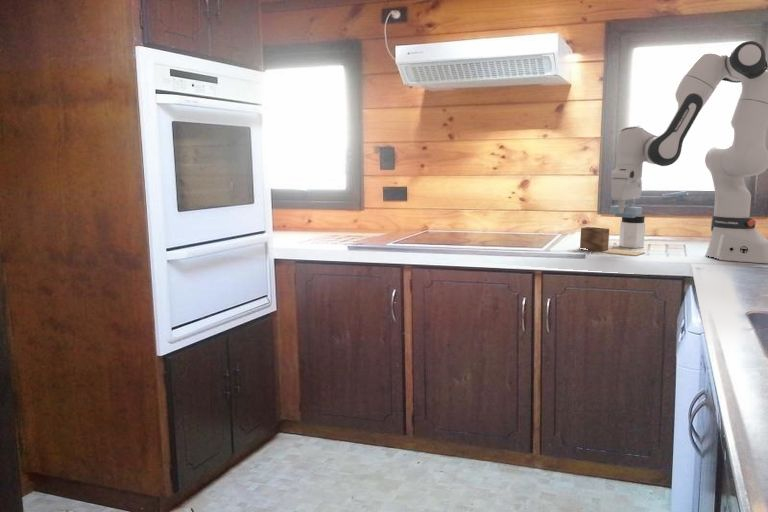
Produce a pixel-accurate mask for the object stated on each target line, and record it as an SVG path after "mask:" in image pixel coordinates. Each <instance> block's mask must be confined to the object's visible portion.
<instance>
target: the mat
mask: <svg viewBox="0 0 768 512" xmlns="http://www.w3.org/2000/svg"><path fill="white" fill-rule="evenodd" d="M601 253H602V254H610V255H611V254H612V255H619V256H620V255H622V256H630V257H631V256H632V257H638V256H641V255H644V254H645V253H646V252H644V251H636V250H625V249H618V248H617V249H615V248H610V249H609V250H607V251H603V252H601Z"/></svg>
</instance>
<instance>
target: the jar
mask: <svg viewBox="0 0 768 512" xmlns="http://www.w3.org/2000/svg"><path fill="white" fill-rule="evenodd" d="M645 229H646V222H645V215H643V214H639V215H636V217H635V218H627V217H621V221H620V228H619V241H618V242H619V244H618V245H619V246H620V247H622V248H628V249H629V248H631V249H642V248H644V247H645V246H644V245H645V234H646V233H645V232H646V231H645Z"/></svg>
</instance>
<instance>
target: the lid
mask: <svg viewBox="0 0 768 512" xmlns="http://www.w3.org/2000/svg"><path fill="white" fill-rule="evenodd" d="M642 213H643V207H642V206H641V207H640V206H633V207H630V206H628V205H625V212H624V213H619V206H618V205H610V206H609V214H614V216H615V218H616V217H618V218H622V217H627V218H635V217H636V215H643V214H642Z"/></svg>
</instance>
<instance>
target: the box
mask: <svg viewBox="0 0 768 512" xmlns="http://www.w3.org/2000/svg"><path fill="white" fill-rule="evenodd" d="M609 242H610V228H606V227H605V228H604V227H592V226H585V227H581V228H580V240H579V243H580V244H579V249H580V248H586V249H588V250H589V252H590V251H591V252H598V253H599V252H600V253H602V252H603V251H607V250H610V249H609ZM588 250H587V251H588Z"/></svg>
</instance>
